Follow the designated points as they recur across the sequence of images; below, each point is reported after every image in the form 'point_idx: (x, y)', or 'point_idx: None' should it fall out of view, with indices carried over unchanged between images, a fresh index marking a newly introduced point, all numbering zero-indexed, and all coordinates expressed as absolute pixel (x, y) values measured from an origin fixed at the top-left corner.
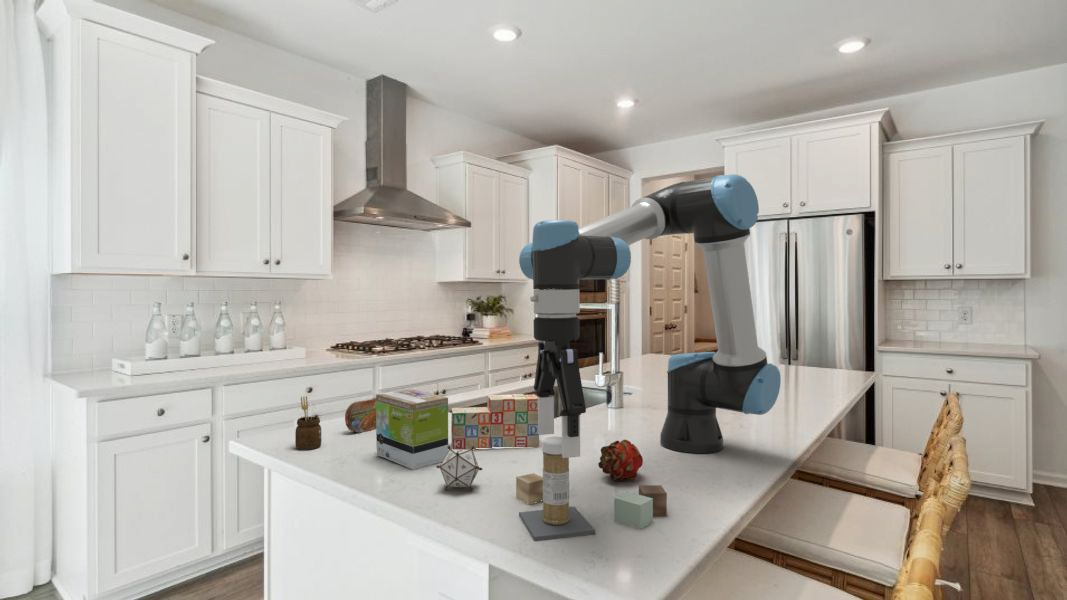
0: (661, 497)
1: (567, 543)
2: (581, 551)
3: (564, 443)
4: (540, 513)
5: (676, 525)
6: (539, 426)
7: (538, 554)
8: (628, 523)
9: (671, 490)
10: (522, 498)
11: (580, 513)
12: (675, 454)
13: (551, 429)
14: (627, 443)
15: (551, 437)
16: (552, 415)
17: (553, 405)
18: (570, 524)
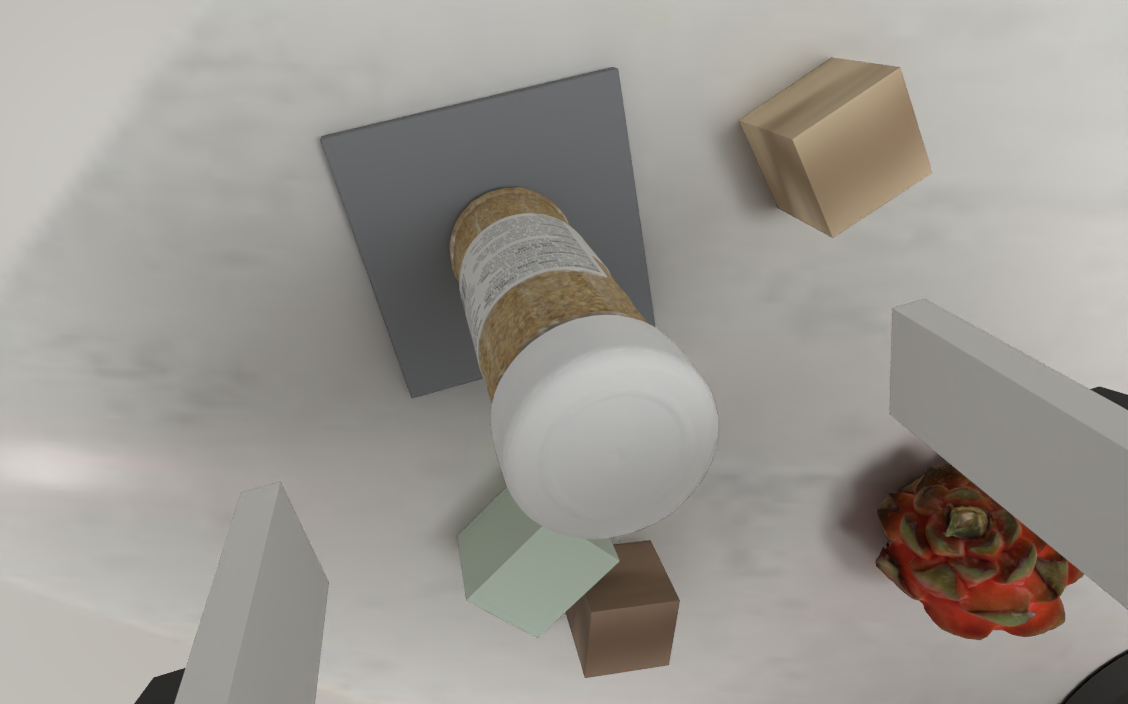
0: (582, 650)
1: (310, 281)
2: (238, 332)
3: (218, 581)
4: (594, 178)
5: (487, 632)
6: (939, 339)
7: (178, 151)
8: (490, 507)
9: (775, 636)
10: (791, 92)
11: None
12: (1074, 663)
13: (912, 414)
14: (1028, 622)
15: (681, 421)
16: (997, 490)
17: (1076, 564)
18: None
